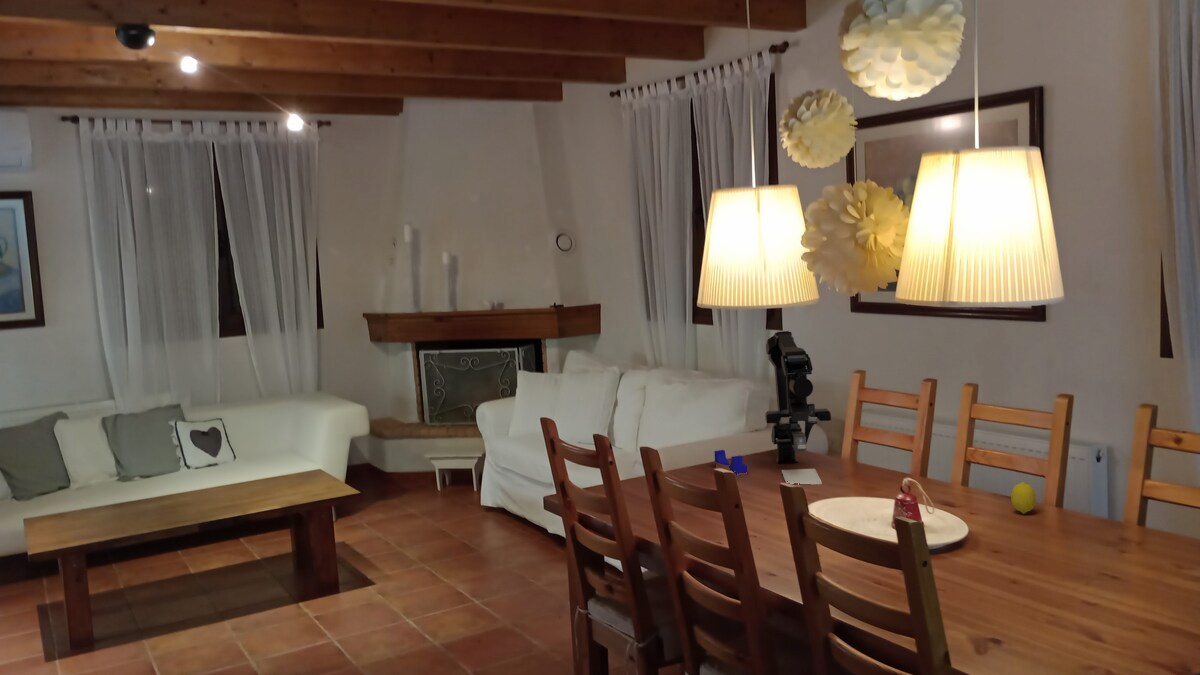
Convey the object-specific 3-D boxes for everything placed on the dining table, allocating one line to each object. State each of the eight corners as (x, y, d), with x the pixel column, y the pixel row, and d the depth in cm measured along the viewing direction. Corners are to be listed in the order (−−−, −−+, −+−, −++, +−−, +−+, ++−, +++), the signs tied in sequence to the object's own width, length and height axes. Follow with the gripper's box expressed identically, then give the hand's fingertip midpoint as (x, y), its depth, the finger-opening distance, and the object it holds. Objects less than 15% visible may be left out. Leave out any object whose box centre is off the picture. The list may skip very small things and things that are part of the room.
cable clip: (747, 474, 292) (746, 455, 291) (734, 476, 290) (733, 457, 290) (727, 467, 303) (726, 449, 302) (715, 469, 301) (714, 451, 301)
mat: (781, 472, 290) (781, 470, 290) (814, 471, 289) (814, 468, 289) (786, 485, 275) (786, 482, 275) (821, 484, 274) (821, 481, 274)
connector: (796, 453, 275) (795, 440, 274) (791, 444, 287) (791, 431, 287) (808, 453, 274) (807, 439, 274) (803, 444, 287) (802, 431, 286)
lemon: (1022, 518, 229) (1021, 485, 228) (1006, 512, 234) (1005, 481, 233) (1041, 515, 230) (1040, 482, 230) (1025, 509, 236) (1024, 478, 235)
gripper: (766, 398, 274) (769, 451, 275) (832, 395, 272) (834, 448, 273) (764, 392, 285) (766, 443, 286) (827, 389, 283) (829, 441, 284)
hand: (799, 444), depth 282 cm, fingers closed on connector, 3 cm apart
